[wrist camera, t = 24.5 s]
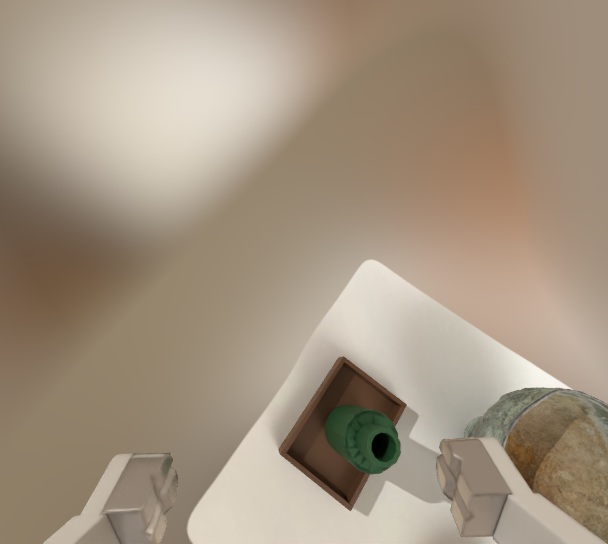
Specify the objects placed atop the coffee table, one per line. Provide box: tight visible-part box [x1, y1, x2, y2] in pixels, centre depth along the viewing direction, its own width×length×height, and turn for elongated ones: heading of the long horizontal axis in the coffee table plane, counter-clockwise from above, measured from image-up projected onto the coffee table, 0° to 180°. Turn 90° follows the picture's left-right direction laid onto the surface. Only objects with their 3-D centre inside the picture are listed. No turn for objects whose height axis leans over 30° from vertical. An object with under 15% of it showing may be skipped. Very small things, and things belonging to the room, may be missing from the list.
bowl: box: [464, 388, 608, 544], centre depth 40 cm, size 20×19×15 cm
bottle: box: [325, 405, 401, 474], centre depth 38 cm, size 6×6×14 cm
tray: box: [279, 357, 406, 511], centre depth 44 cm, size 15×11×3 cm
